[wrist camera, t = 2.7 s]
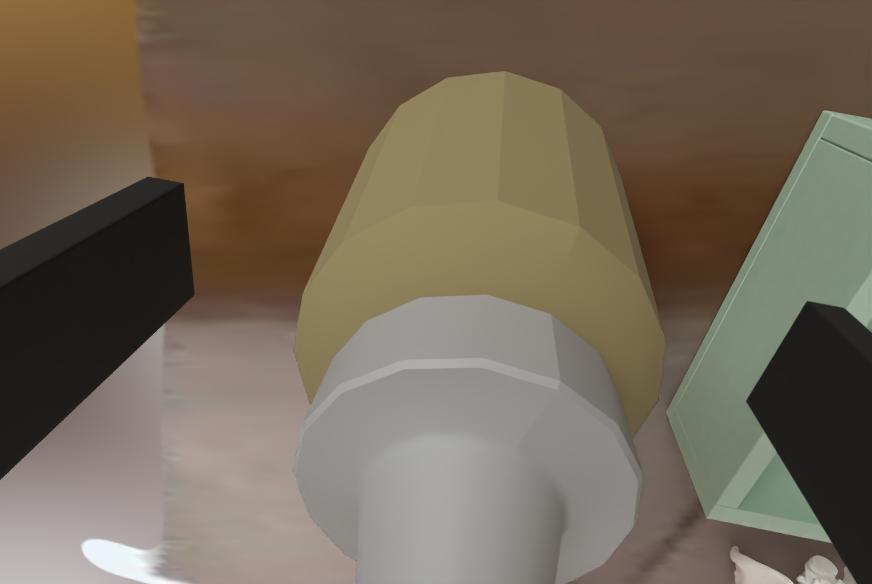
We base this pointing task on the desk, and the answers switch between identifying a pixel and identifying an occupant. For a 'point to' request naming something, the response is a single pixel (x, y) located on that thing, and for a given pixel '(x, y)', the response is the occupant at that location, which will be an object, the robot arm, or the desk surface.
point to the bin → (777, 328)
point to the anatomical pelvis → (814, 580)
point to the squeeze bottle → (479, 345)
